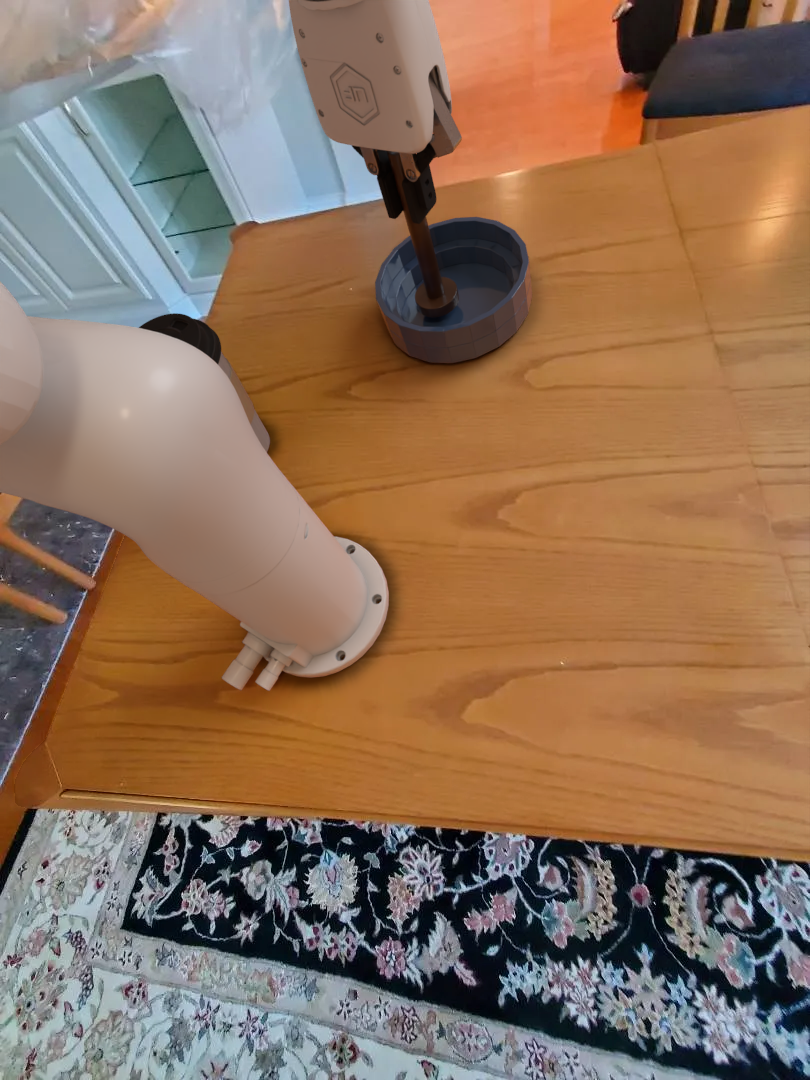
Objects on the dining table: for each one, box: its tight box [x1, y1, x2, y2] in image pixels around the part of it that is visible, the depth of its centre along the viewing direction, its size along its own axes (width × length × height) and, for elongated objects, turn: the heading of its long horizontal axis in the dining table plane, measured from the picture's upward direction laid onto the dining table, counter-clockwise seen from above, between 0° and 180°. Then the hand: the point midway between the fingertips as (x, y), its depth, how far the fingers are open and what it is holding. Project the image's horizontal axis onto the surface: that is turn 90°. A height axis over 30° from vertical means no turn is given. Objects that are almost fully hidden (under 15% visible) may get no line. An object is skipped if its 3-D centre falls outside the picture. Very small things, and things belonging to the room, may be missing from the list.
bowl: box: [374, 216, 533, 364], centre depth 63 cm, size 15×15×5 cm
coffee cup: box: [138, 312, 271, 453], centre depth 58 cm, size 9×9×15 cm
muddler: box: [387, 151, 459, 317], centre depth 57 cm, size 4×4×16 cm
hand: (413, 209), depth 55 cm, fingers closed on muddler
